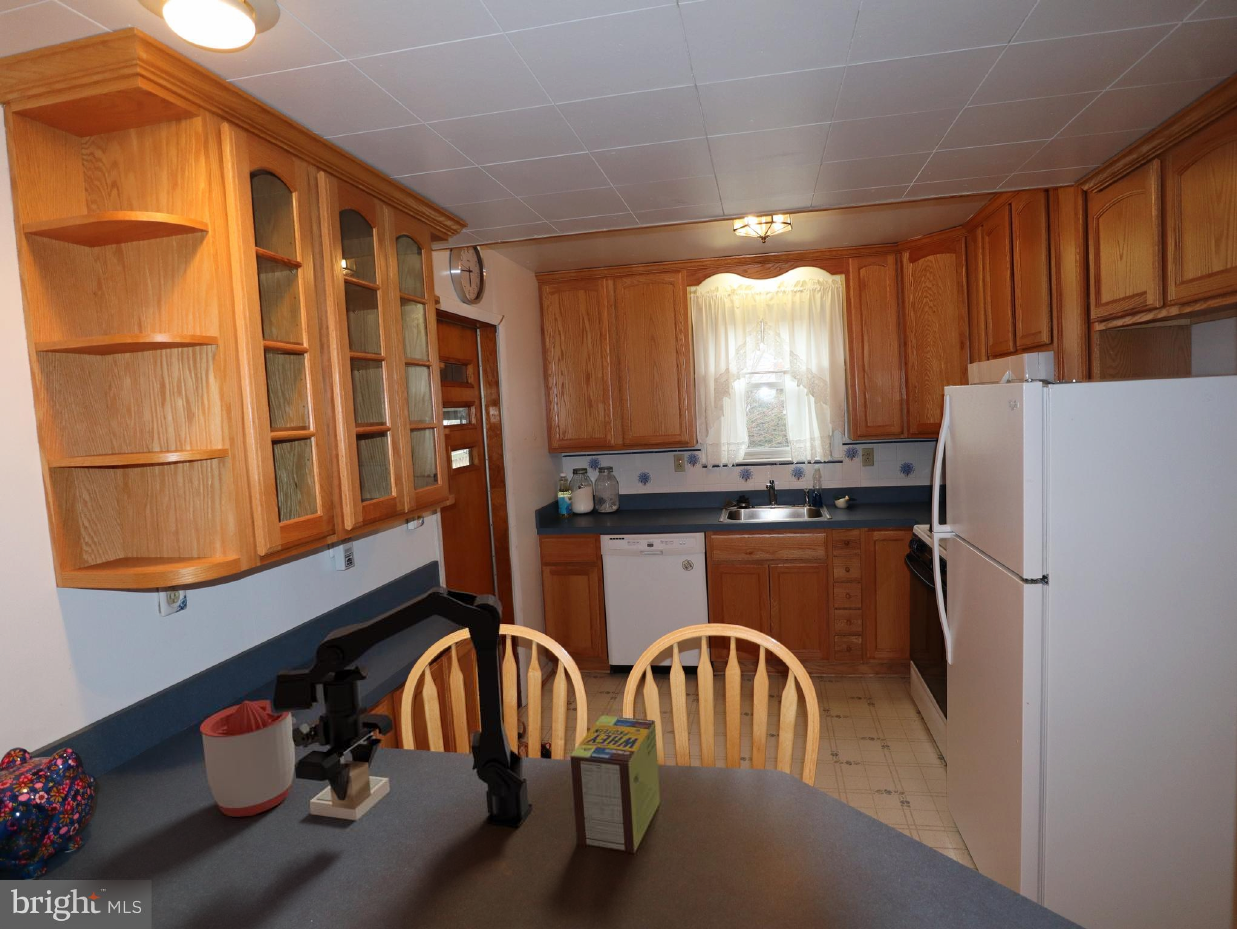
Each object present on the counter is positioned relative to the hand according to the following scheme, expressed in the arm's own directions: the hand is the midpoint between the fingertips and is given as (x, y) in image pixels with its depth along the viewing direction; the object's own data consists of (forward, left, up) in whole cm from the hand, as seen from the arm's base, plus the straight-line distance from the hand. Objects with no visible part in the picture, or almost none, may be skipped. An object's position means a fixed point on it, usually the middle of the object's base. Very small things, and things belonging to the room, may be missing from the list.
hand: (351, 792), depth 123 cm
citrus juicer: (+27, -6, -8) cm, 29 cm away
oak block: (0, 0, -2) cm, 2 cm away
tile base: (+8, -9, -8) cm, 14 cm away
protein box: (-44, -13, -8) cm, 47 cm away
